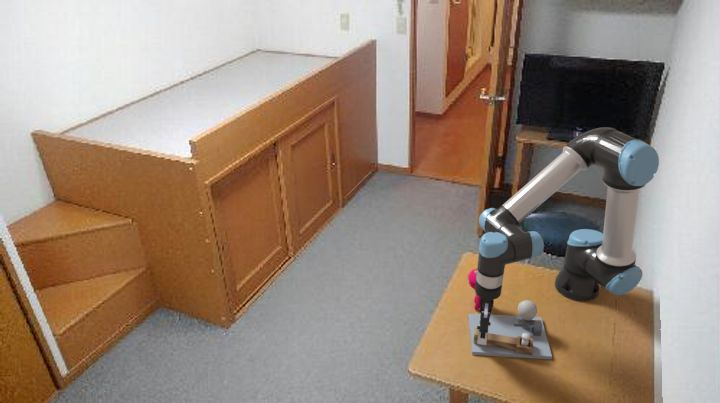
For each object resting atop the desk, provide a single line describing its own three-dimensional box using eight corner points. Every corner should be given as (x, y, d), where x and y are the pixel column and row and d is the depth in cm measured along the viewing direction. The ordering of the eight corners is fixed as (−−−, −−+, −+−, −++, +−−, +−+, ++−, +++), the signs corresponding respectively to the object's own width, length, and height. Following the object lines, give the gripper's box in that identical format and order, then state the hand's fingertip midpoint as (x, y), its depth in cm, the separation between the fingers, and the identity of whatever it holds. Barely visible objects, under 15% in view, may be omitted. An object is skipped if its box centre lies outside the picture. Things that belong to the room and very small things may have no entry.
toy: (491, 314, 186) (496, 279, 178) (467, 314, 186) (470, 279, 179) (487, 299, 193) (491, 264, 186) (463, 299, 193) (466, 264, 186)
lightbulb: (534, 336, 175) (538, 309, 170) (514, 333, 177) (518, 306, 172) (534, 324, 181) (538, 297, 176) (515, 321, 182) (518, 295, 177)
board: (540, 319, 183) (543, 304, 180) (551, 359, 167) (554, 343, 164) (468, 316, 185) (469, 300, 182) (472, 354, 170) (473, 338, 166)
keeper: (538, 333, 177) (541, 320, 174) (540, 338, 175) (542, 325, 172) (511, 332, 178) (513, 319, 175) (512, 337, 176) (514, 324, 173)
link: (532, 344, 171) (533, 335, 169) (532, 355, 167) (533, 346, 165) (474, 334, 175) (475, 326, 174) (473, 344, 171) (474, 336, 170)
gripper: (477, 267, 165) (471, 327, 177) (474, 293, 154) (468, 355, 166) (502, 271, 164) (494, 331, 175) (501, 297, 153) (493, 359, 164)
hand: (481, 343), depth 170 cm, fingers closed
